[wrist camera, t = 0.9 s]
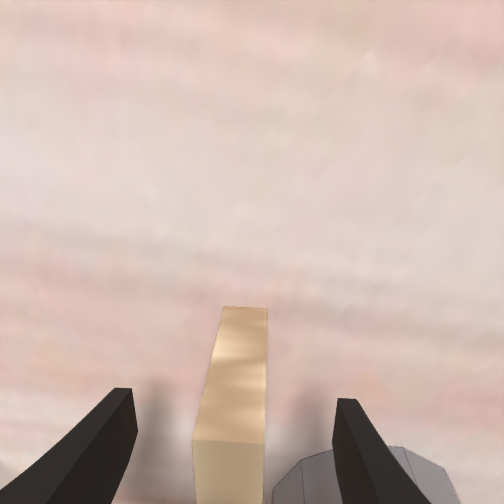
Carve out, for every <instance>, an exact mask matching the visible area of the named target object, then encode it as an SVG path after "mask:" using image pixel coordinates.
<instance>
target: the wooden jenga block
mask: <svg viewBox="0 0 504 504" xmlns="http://www.w3.org/2000/svg"><path fill="white" fill-rule="evenodd" d="M267 323H268V308H247V307H224V309H223V313H222V317H221V321H220V325H219V329H218V334H217V338H216V342H215V346H214V350H213V354H212V358H211V362H210V366H209V370H208V375H207V379H206V383H205V387H204V391H203V395H202V399H201V403H200V407H199V411H198V416H197V420H196V424H195V428H194V432H193V436H192V451H193V465H194V479H195V493H196V504H262V500H263V473H264V445H265V404H266V363H267Z"/></svg>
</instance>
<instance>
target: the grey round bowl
mask: <svg viewBox="0 0 504 504" xmlns="http://www.w3.org/2000/svg"><path fill="white" fill-rule="evenodd" d="M388 448H389V450H390V451H391V452H392V454H393V455H394V457H395V458H396V459H397V461H398V462H399V464H400V465H401V466H402V468H403V469H404V470H405V471H406V473H407V474H408V475H409V477H410V478H411V479H412V480H413V482H414V483H415V484H416V485H417V487H418V488H419V489H420V490H421V492H422V493H423V494H424V495H425V496H426V498H427V499H428V500H429V501H430V502H431V503H432V504H462V502H461V500H460V498H459V496H458V494H457V493H456V491H455V489H454V487H453V485H452V483H451V481H450V479H449V477H448V475H447V473H446V471H445V469H444V468H442V467H440V466H438V465H436V464H434V463H432V462H430V461H428V460H426V459H424V458H423V457H421V456H419V455H417V454H415V453H413V452H411V451H409V450H407V449H405V448H402V447H388ZM273 504H343V502H342V498H341V494H340V489H339V485H338V480H337V476H336V470H335V462H334V454H333V450H330V451H327V452H324V453H321V454H318V455H315V456H312V457H309V458H306V459H303V460H301V461H300V462H299V463H298V464H297V465H296V466H295V467H294V468H293V469H292V470H291V471H290V472H289V473H288V474H287V475H286V476H285V477H284V478H283V479H282V480H281V481H280V482H279V484H278V485H277V486H276V487H275V488H274V494H273Z"/></svg>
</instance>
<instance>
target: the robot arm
mask: <svg viewBox="0 0 504 504" xmlns="http://www.w3.org/2000/svg"><path fill="white" fill-rule="evenodd" d="M137 434H138V427H137V420H136V414H135V407H134V400H133V393H132V388H114V389H113V390H112V391H111V392H110V393H109V394H108V395H107V396H106V397H105V398H104V399H103V400H102V401H101V402H100V403H99V404H98V405H97V406H96V407H95V408H94V409H92V410H91V411H90V412H89V413H88V414H87V415H86V416H85V417H84V418H83V419H82V420H81V421H80V422H79V423H78V424H77V425H76V426H75V427H74V428H73V429H72V430H71V431H70V432H69V433H68V434H67V435H65V436H64V437H63V438H62V439H61V440H60V441H59V442H58V443H57V444H56V445H54V446H53V447H52V448H51V449H50V450H49V451H48V452H46V453H45V454H44V455H43V456H42V457H41V458H40V459H38V460H37V461H36V462H35V463H34V464H33V465H31V466H30V467H29V468H28V469H27V470H25V471H24V472H23V473H22V474H20V475H19V476H18V477H17V478H15V479H14V480H13V481H12V482H10V483H9V484H8V485H6V486H5V487H4V488H2V489H1V490H0V504H111V503H112V500H113V498H114V496H115V493H116V491H117V489H118V487H119V484H120V482H121V479H122V477H123V475H124V472H125V470H126V468H127V465H128V463H129V460H130V457H131V454H132V450H133V447H134V444H135V440H136V437H137ZM332 446H333V454H334V462H335V470H336V476H337V480H338V485H339V489H340V494H341V498H342V502H343V504H432V503H431V502H430V501H429V500H428V499H427V498H426V496H425V495H424V494H423V493H422V492H421V490H420V489H419V488H418V487H417V485H416V484H415V483H414V482H413V480H412V479H411V478H410V477H409V475H408V474H407V473H406V471H405V470H404V469H403V468H402V466H401V465H400V464H399V462H398V461H397V459H396V458H395V457H394V455H393V454H392V452H391V451H390V450H389V448H388V447H387V445H386V444H385V443H384V441H383V440H382V438H381V437H380V435H379V434H378V432H377V431H376V429H375V428H374V426H373V425H372V423H371V421H370V420H369V418H368V417H367V415H366V413H365V412H364V410H363V409H362V407H361V405H360V403H359V402H358V401H357V400H356V399H346V398H338V401H337V408H336V415H335V423H334V430H333V438H332Z"/></svg>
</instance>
